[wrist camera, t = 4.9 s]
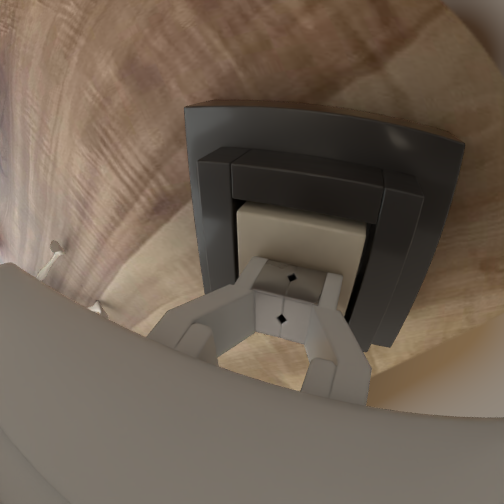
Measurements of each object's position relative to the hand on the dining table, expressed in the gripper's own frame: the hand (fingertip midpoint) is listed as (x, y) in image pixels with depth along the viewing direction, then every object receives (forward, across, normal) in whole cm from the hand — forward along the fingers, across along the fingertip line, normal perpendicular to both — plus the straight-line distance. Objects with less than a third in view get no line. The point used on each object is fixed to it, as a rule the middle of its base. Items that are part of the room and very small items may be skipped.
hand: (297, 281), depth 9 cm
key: (+2, 0, 0) cm, 2 cm away
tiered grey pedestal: (+4, 0, 0) cm, 4 cm away
